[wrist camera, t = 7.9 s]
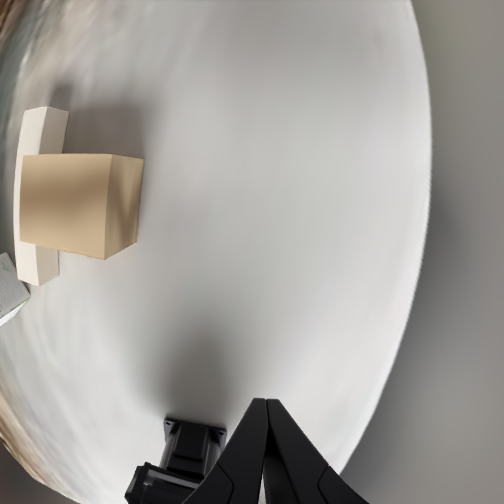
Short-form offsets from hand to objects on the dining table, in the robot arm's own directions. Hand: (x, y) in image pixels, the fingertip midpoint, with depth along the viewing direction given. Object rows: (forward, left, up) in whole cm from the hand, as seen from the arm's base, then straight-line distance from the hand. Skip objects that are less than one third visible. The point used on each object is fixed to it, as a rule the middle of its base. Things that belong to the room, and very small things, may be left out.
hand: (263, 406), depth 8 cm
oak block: (+5, +13, -12) cm, 19 cm away
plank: (+5, +19, -12) cm, 23 cm away
